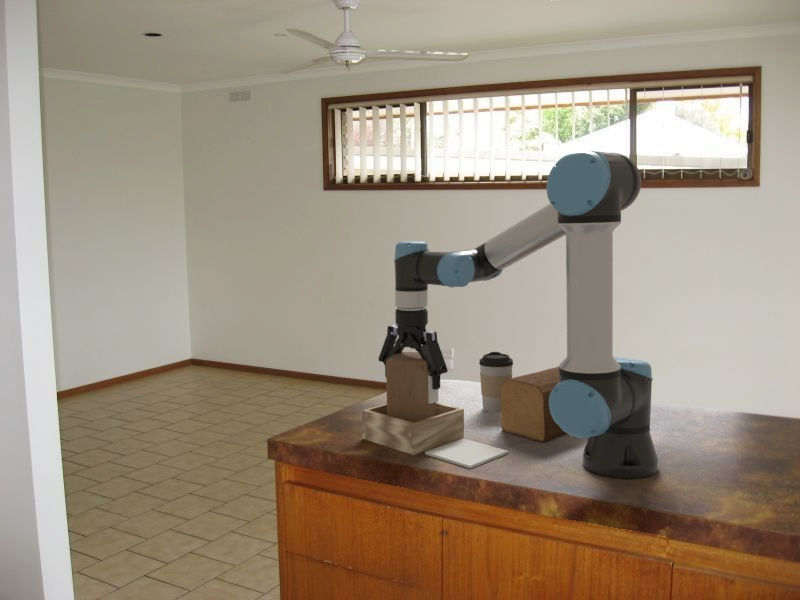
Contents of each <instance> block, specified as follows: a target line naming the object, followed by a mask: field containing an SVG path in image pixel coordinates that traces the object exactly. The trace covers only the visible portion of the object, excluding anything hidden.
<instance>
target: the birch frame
mask: <svg viewBox="0 0 800 600" xmlns="http://www.w3.org/2000/svg"><path fill="white" fill-rule="evenodd" d="M361 416H362V417H361V418H362V421H361V422H362V423H361V424H362V440H365V441H368V442H372V443H375V444H377V445H381V446H384V447H387V448H390V449H394V450H397V451H400V452H403V453H406V454H409V455H412V456H416V455H419V454H421V453H425V452H426V451H429V450H432V449H435V448H438V447H440V446H443V445H446V444H449V443H452V442H454V441H457V440H460V439H463V438H464V439H465V409H464V408H462V407H458V406H454V405H449V404H445V403H441V402H439V401H438V402H436V416H434V417H430V418H427V419H424V420H421V421H418V422H414V423H413V422H409V421H406V420H402V419H398V418H395V417H391V416H388V415H387V402H386V403H383V404H380V405H376V406H373V407H368V408H366V409H362V410H361Z"/></svg>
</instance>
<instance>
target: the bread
mask: <svg viewBox="0 0 800 600" xmlns="http://www.w3.org/2000/svg"><path fill="white" fill-rule="evenodd" d="M558 383H559V365H558V366H556V367H551V368H548V369H544V370H540V371H536V372H532V373H527V374H524V375H519V376H515V377H512V378H511V379H509V380H507V381H504V382H503V383H502V386H501V412H500V424H501V427H500V428H501V430H502V431H503V432H505V433H509V434H511V435H512V434H513V435H516V436H519V437H523V438H527V439H530V440H534V441H538V442H540V443H546V442H549V441H551V440H554V439H557V438H560V437H563V436H565V435H568V434H567V433H566V432H564V431H563V430H562V429H561V428H560V427H559V425H558V424H556V423H555V421H554V419H553V418H552V415H551V413H550V409H549V397H550V393H551V391H552V390H553V389H554V387H555V386H556V385H557V384H558Z"/></svg>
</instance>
